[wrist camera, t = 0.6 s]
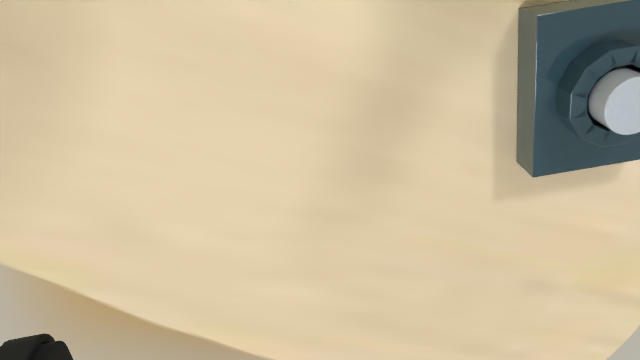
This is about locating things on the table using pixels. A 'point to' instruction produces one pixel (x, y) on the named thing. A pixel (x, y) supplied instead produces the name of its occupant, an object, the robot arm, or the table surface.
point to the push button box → (572, 82)
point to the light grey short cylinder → (617, 101)
